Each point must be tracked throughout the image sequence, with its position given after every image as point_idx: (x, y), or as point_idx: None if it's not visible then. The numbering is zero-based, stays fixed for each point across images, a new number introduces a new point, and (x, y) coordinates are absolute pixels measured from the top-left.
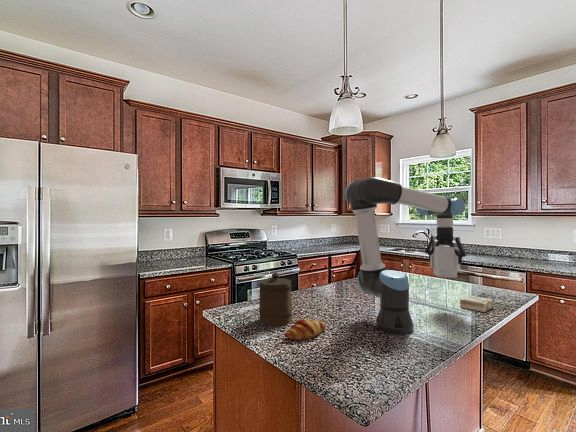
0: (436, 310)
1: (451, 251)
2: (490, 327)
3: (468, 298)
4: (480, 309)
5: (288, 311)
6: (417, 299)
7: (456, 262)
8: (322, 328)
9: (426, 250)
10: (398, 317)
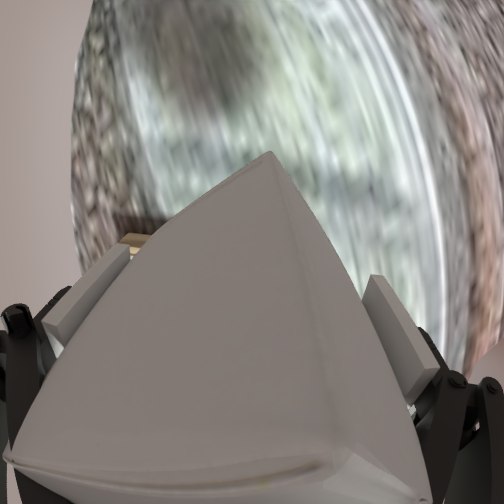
0: (272, 128)
1: (46, 394)
2: (76, 79)
3: None
4: (137, 236)
5: None
6: (382, 246)
7: (85, 288)
8: None
9: (499, 405)
10: None
